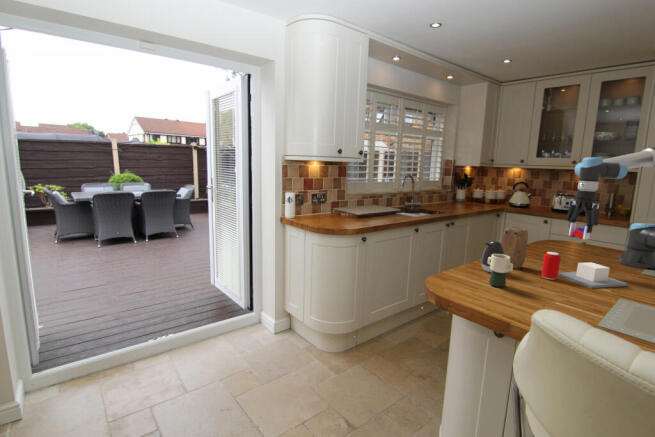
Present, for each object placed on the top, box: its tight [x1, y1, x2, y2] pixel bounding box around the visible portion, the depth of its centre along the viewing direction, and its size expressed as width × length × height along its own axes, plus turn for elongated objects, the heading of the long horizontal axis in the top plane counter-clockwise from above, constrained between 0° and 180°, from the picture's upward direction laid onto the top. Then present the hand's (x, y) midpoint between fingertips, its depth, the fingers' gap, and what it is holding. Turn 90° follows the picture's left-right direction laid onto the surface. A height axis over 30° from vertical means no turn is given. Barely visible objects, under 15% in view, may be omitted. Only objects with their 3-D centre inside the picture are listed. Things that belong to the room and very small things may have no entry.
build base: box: [558, 262, 628, 289], centre depth 149 cm, size 20×16×7 cm
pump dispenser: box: [480, 240, 504, 274], centre depth 156 cm, size 10×10×15 cm
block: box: [500, 226, 529, 270], centre depth 165 cm, size 11×8×20 cm
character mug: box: [488, 254, 514, 288], centre depth 138 cm, size 11×7×13 cm, turn 30°
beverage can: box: [541, 251, 561, 281], centre depth 150 cm, size 6×6×12 cm
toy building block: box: [569, 224, 587, 240], centre depth 158 cm, size 4×4×8 cm
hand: (578, 237), depth 159 cm, fingers closed on toy building block, 7 cm apart
